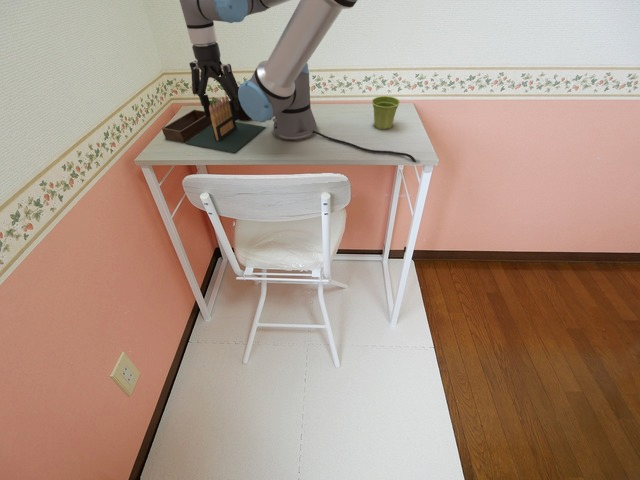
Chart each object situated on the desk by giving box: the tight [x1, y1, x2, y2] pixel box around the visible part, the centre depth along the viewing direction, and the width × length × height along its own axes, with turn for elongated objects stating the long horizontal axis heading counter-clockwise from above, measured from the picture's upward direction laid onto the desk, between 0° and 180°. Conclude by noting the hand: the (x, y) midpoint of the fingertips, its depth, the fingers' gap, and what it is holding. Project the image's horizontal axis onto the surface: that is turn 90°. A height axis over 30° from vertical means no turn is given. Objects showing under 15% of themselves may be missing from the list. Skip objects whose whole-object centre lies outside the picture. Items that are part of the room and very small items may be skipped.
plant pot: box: [371, 95, 401, 130], centre depth 114 cm, size 9×9×9 cm
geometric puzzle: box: [209, 96, 223, 109], centre depth 127 cm, size 7×7×8 cm
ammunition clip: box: [209, 94, 237, 141], centre depth 112 cm, size 11×2×12 cm, turn 157°
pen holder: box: [161, 109, 212, 144], centre depth 119 cm, size 8×17×4 cm, turn 157°
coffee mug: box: [232, 95, 252, 122], centre depth 125 cm, size 12×9×10 cm
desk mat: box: [185, 121, 266, 155], centre depth 116 cm, size 20×20×1 cm
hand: (222, 117), depth 112 cm, fingers open, 10 cm apart
